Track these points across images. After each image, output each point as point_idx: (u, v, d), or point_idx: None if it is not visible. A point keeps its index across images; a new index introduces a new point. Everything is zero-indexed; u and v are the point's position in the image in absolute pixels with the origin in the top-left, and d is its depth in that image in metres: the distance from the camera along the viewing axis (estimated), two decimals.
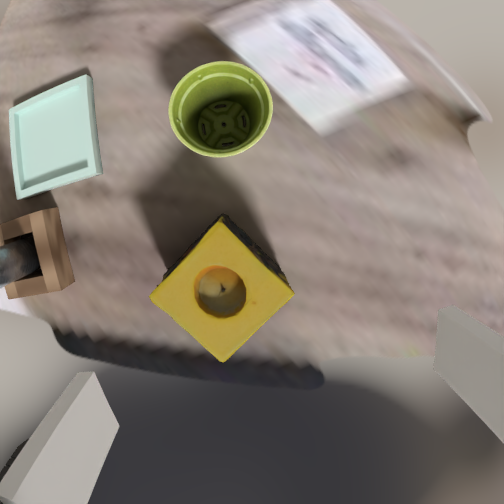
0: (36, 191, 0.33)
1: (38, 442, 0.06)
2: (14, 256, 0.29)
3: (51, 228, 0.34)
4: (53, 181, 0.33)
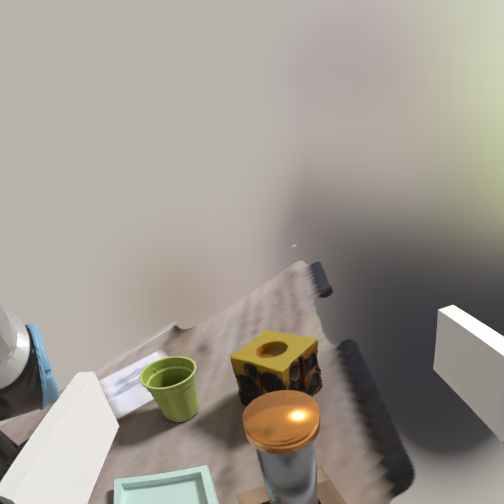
0: None
1: (38, 442, 0.06)
2: None
3: None
4: (210, 501, 0.28)
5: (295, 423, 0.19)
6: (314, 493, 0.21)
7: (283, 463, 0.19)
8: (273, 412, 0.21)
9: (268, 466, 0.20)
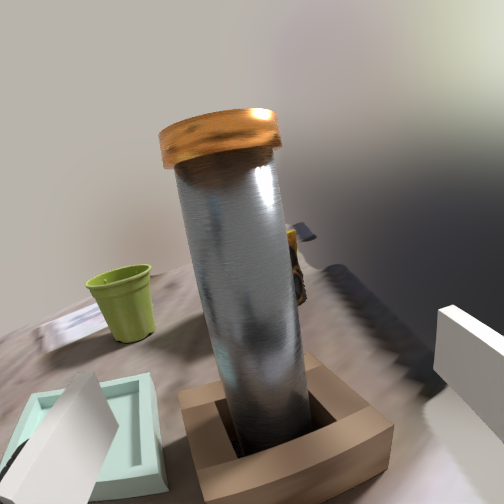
0: (152, 436, 0.18)
1: (38, 442, 0.06)
2: None
3: None
4: (143, 412, 0.21)
5: None
6: (295, 331, 0.15)
7: (221, 195, 0.12)
8: None
9: (197, 219, 0.13)
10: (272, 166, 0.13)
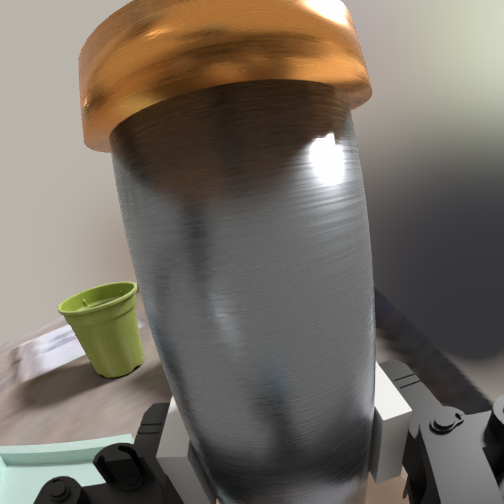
0: None
1: None
2: None
3: None
4: None
5: None
6: (366, 471, 0.06)
7: (225, 220, 0.04)
8: None
9: (160, 283, 0.05)
10: (356, 142, 0.05)
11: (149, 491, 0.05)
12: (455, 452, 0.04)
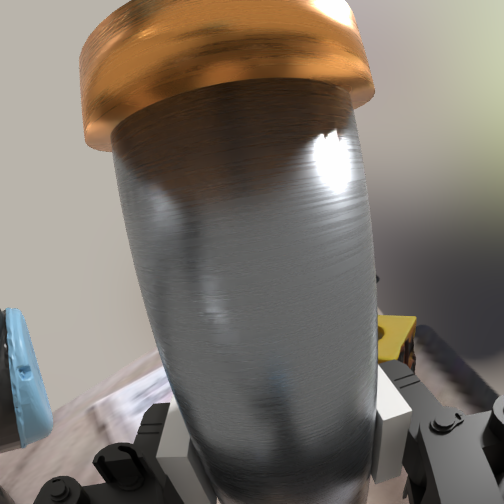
0: None
1: None
2: None
3: None
4: None
5: None
6: (368, 472, 0.06)
7: (228, 219, 0.04)
8: None
9: (161, 283, 0.04)
10: (359, 141, 0.05)
11: (149, 491, 0.05)
12: (455, 452, 0.04)
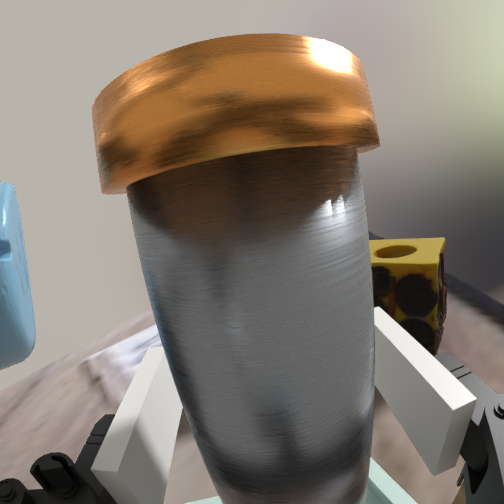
0: None
1: (129, 412, 0.08)
2: None
3: None
4: None
5: None
6: (365, 486, 0.07)
7: (243, 283, 0.04)
8: None
9: (181, 332, 0.05)
10: (363, 195, 0.05)
11: (83, 498, 0.05)
12: None
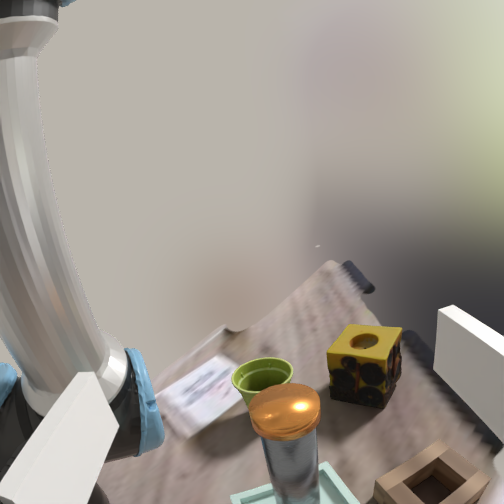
0: None
1: (38, 442, 0.06)
2: None
3: None
4: (345, 494, 0.28)
5: (298, 412, 0.21)
6: (316, 482, 0.23)
7: (288, 451, 0.21)
8: (277, 403, 0.22)
9: (274, 455, 0.21)
10: (314, 428, 0.22)
11: None
12: None
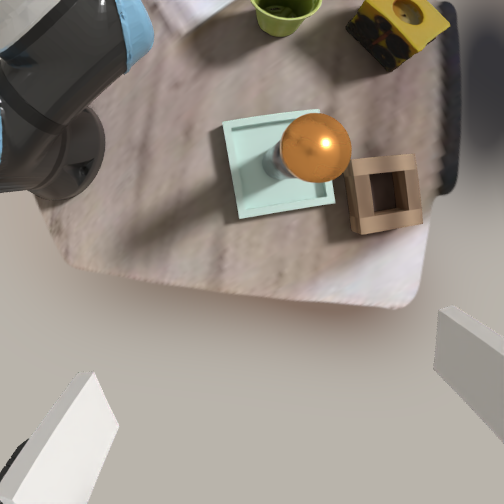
0: None
1: (38, 442, 0.06)
2: None
3: None
4: None
5: (328, 166, 0.23)
6: None
7: None
8: (312, 144, 0.23)
9: None
10: None
11: None
12: None
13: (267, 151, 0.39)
